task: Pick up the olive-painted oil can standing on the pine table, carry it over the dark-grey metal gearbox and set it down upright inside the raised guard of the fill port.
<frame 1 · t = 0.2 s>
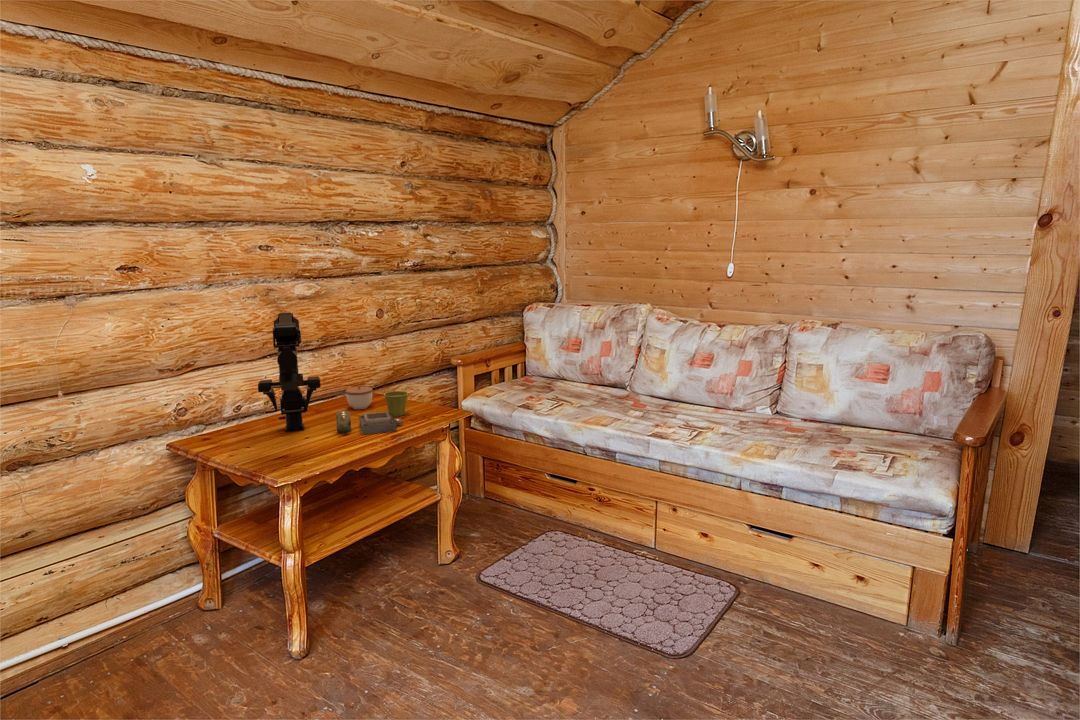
hand: (291, 409, 209), 14 cm above the table, fingers open, 9 cm apart
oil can: (344, 431, 233), on the table
gearbox: (377, 427, 238), on the table
lidded jar: (360, 408, 266), on the table
plant pot: (397, 415, 255), on the table
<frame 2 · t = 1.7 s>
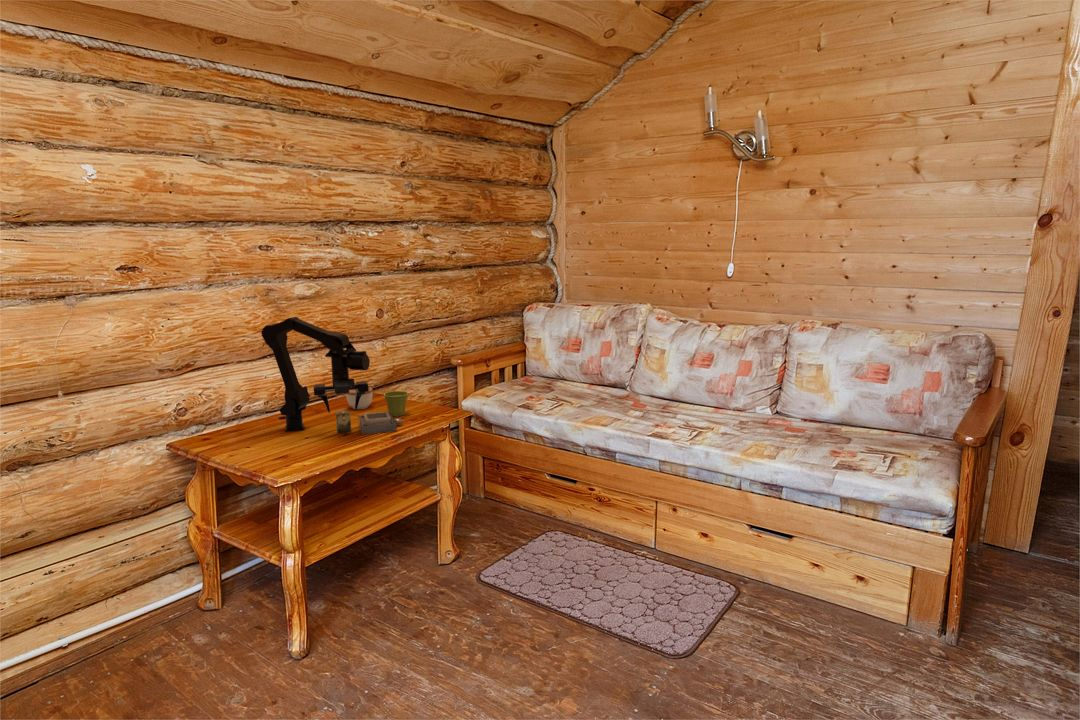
hand: (342, 411, 232), 8 cm above the table, fingers open, 9 cm apart
nothing on the table moved.
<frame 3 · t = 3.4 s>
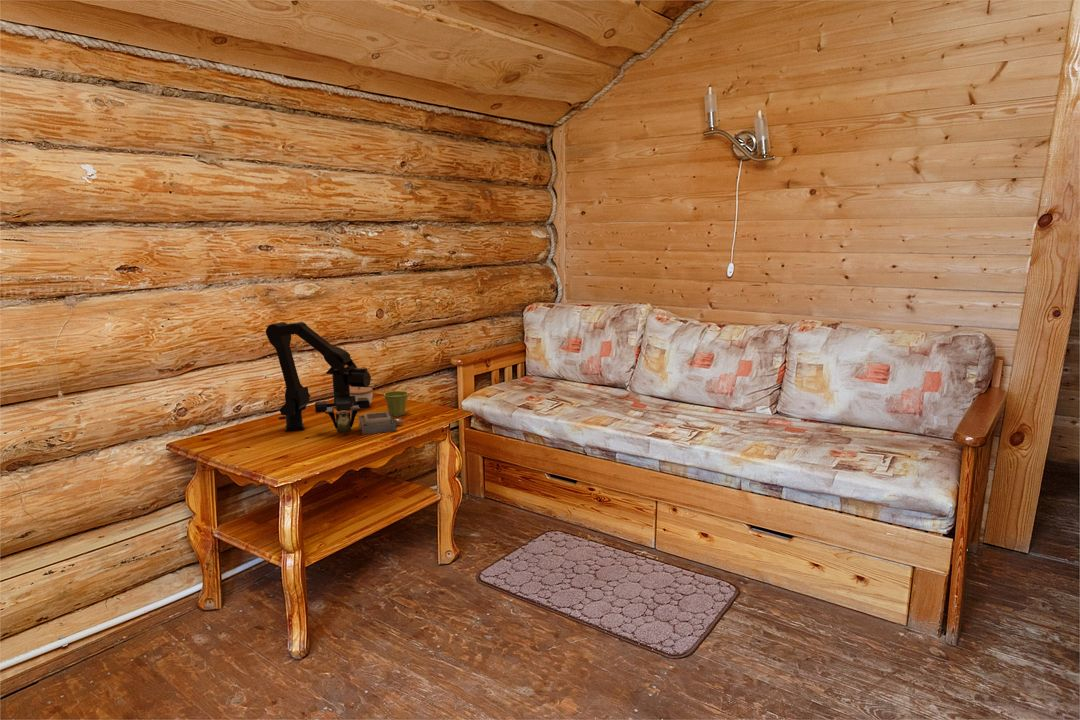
hand: (343, 427, 233), 1 cm above the table, fingers closed on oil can, 5 cm apart
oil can: (344, 431, 233), on the table, touching gripper
everything else where it was.
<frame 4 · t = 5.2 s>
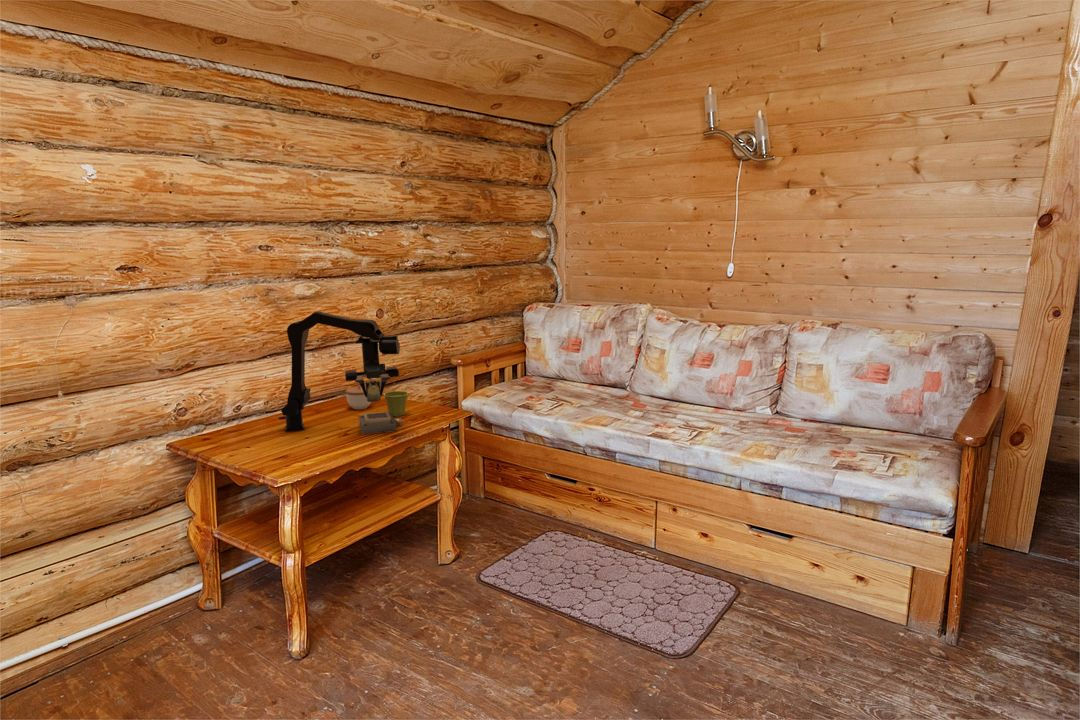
hand: (373, 396, 235), 12 cm above the table, fingers closed on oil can, 5 cm apart
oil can: (373, 400, 236), point 11 cm above the table, touching gripper
everything else where it was.
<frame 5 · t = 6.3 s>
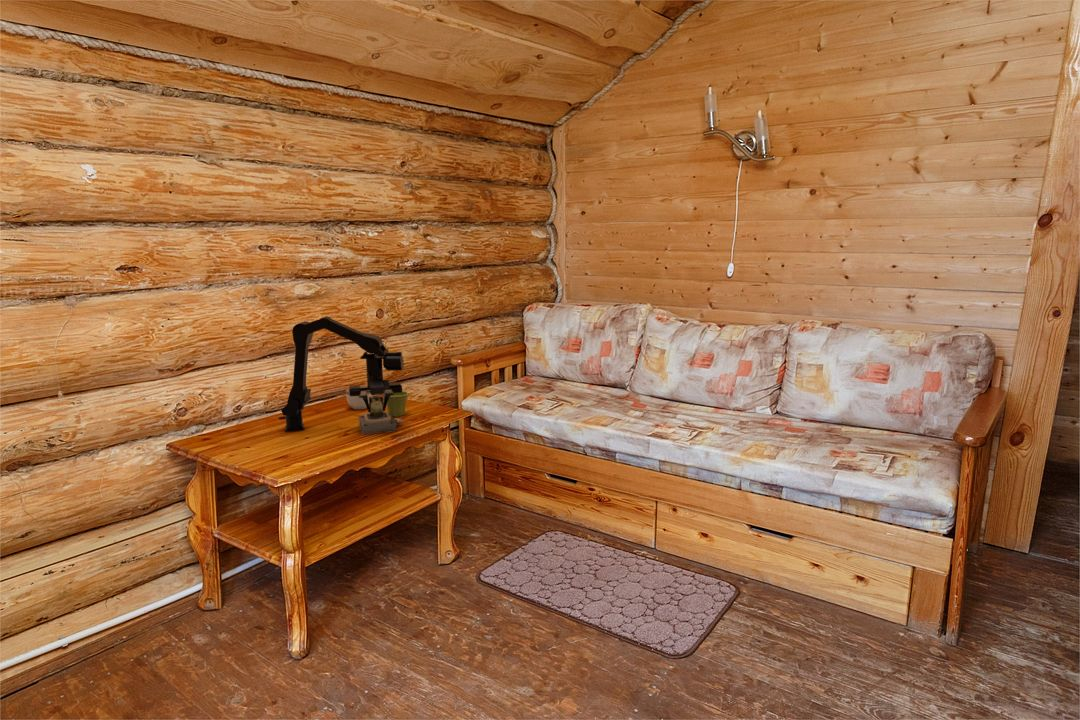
hand: (376, 411, 237), 6 cm above the table, fingers closed on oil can, 5 cm apart
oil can: (376, 415, 237), point 5 cm above the table, touching gripper
everything else where it was.
when the fingers open (6 cm above the table, at t = 7.2 s): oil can drops 1 cm, resting on gearbox.
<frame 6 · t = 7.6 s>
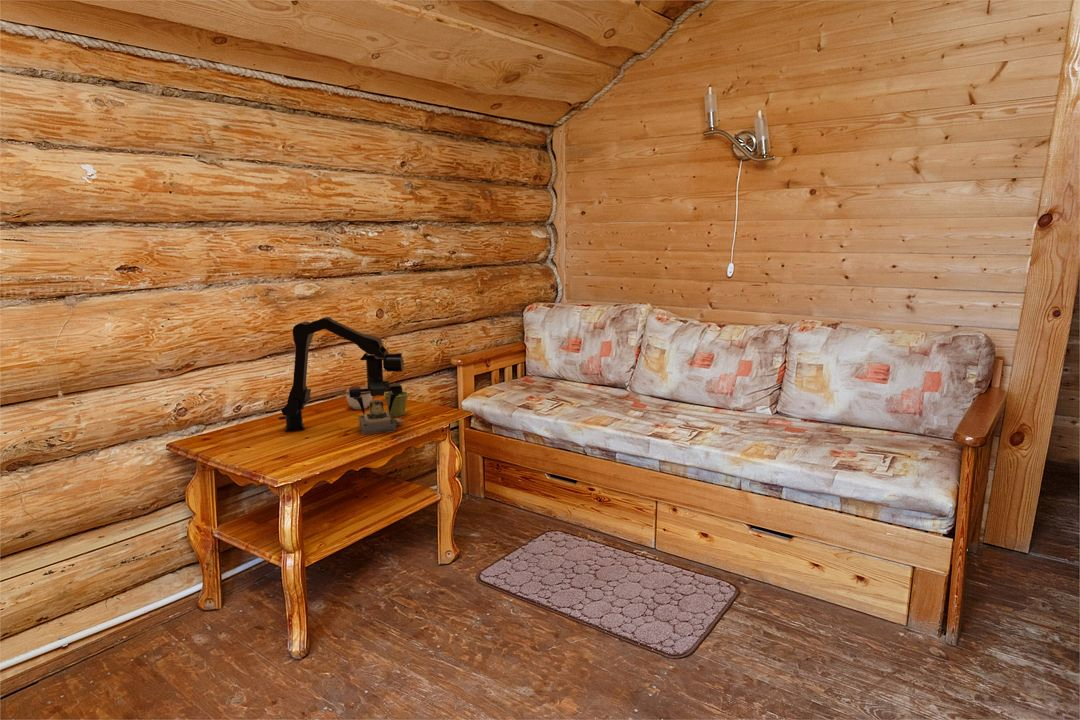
hand: (376, 412, 237), 6 cm above the table, fingers open, 9 cm apart
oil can: (377, 419, 238), point 3 cm above the table, touching gearbox
everything else where it was.
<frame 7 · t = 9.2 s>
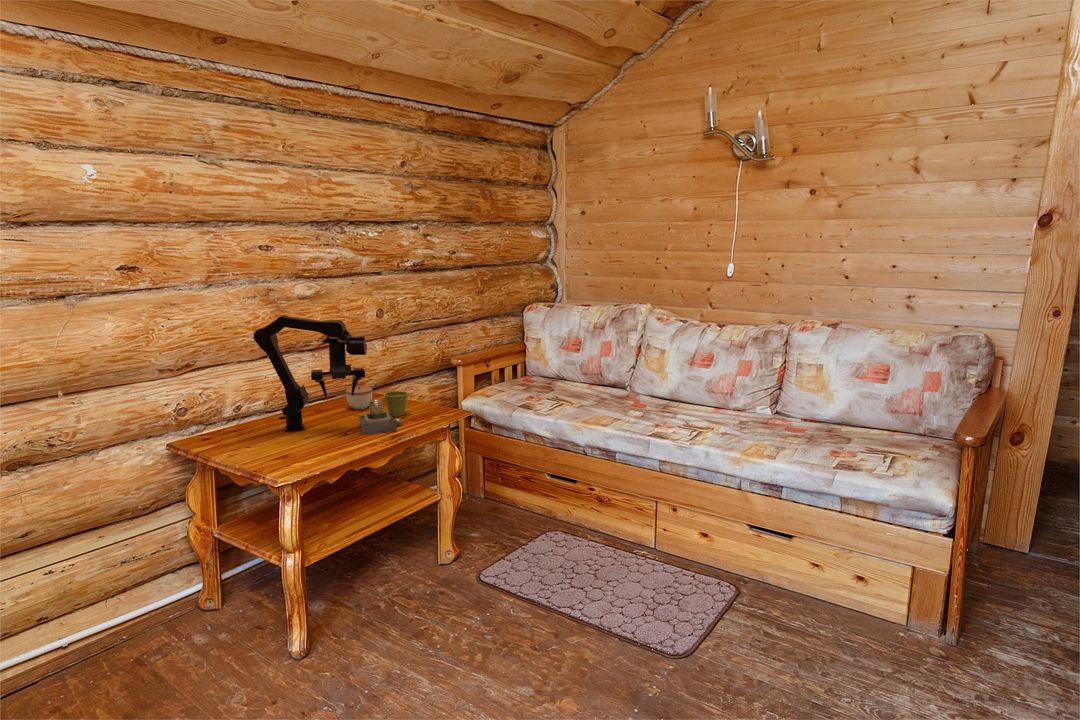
hand: (339, 396, 236), 12 cm above the table, fingers open, 9 cm apart
nothing on the table moved.
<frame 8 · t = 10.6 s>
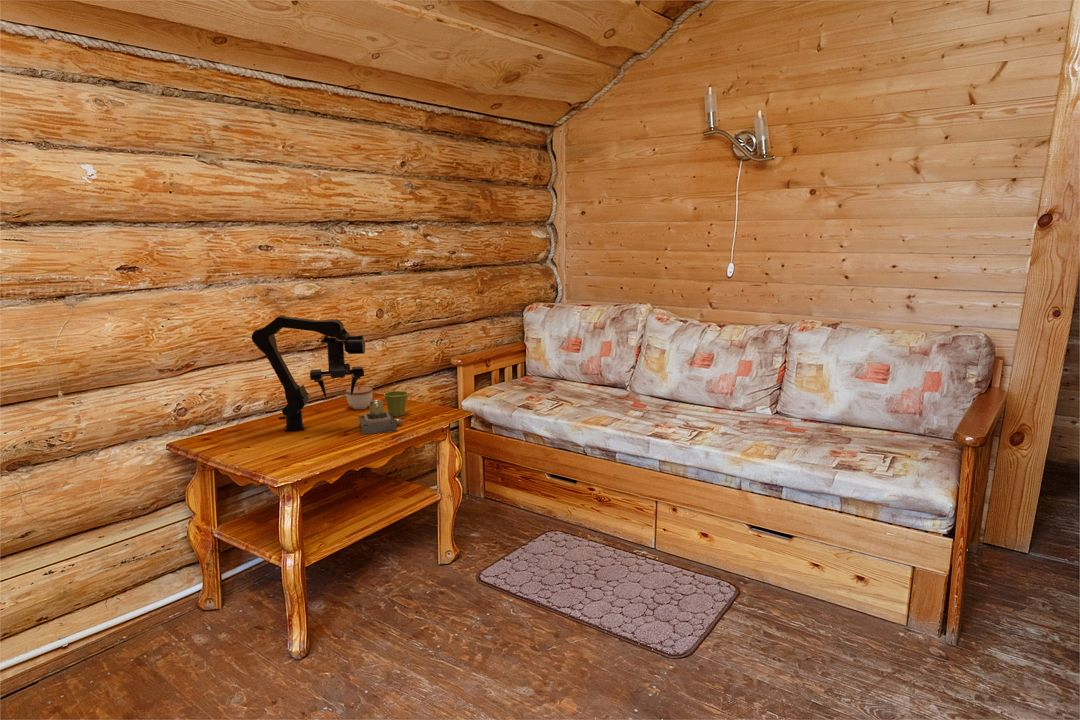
hand: (338, 395, 236), 12 cm above the table, fingers open, 9 cm apart
nothing on the table moved.
at the end: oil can 0.1 cm off-centre on the gearbox, point 3.0 cm above the gearbox's base; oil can tilted 1°; the gripper is holding nothing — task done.
